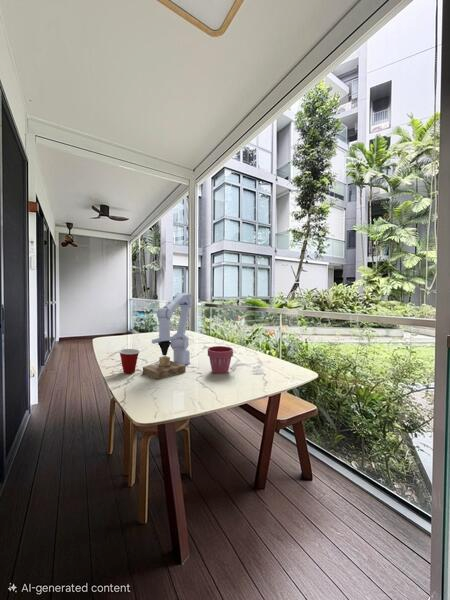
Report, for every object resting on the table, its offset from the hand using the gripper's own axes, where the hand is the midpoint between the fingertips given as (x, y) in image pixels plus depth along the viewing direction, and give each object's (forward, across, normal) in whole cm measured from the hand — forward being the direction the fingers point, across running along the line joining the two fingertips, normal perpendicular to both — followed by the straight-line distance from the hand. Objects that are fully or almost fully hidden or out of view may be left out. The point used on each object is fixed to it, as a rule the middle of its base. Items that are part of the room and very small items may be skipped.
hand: (164, 355), depth 143 cm
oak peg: (+9, 0, 0) cm, 9 cm away
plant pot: (+10, +23, -20) cm, 32 cm away
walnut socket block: (+10, 0, 0) cm, 10 cm away
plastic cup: (+10, -13, +14) cm, 22 cm away
